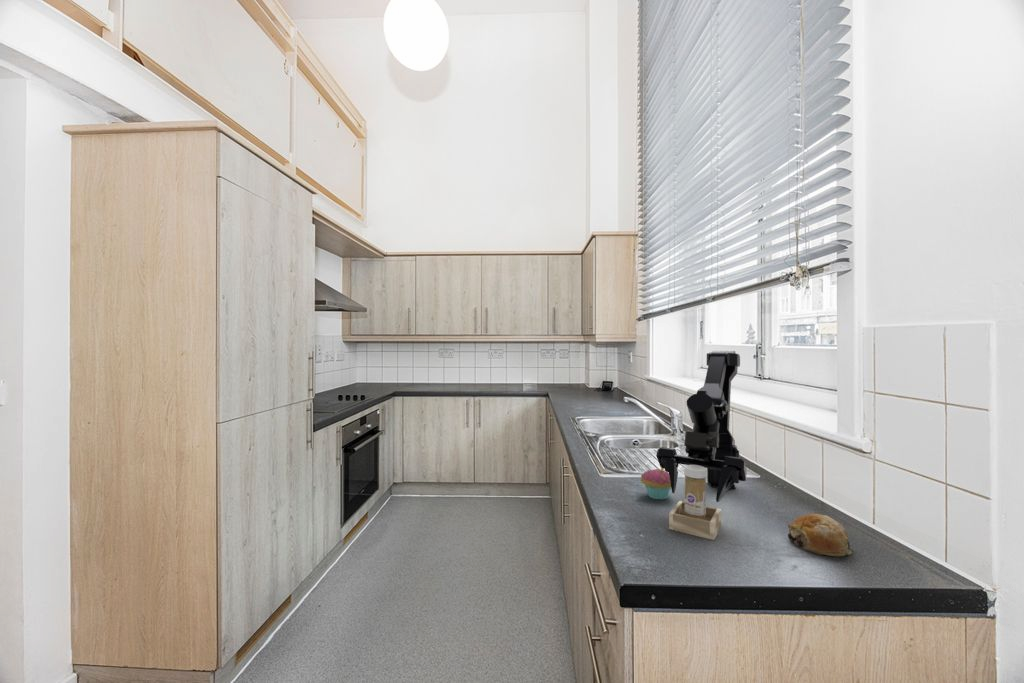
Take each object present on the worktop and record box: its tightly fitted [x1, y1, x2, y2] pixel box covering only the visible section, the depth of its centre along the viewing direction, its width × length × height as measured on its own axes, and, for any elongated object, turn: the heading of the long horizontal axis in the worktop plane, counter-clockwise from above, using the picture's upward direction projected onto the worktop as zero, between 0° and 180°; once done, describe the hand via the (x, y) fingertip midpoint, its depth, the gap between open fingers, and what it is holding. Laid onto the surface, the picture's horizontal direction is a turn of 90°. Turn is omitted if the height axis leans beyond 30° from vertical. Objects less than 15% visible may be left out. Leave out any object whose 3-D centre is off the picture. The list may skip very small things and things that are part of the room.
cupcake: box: [640, 467, 671, 500], centre depth 113 cm, size 9×8×12 cm
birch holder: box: [668, 500, 723, 541], centre depth 95 cm, size 9×9×4 cm
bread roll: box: [787, 513, 852, 557], centre depth 86 cm, size 10×10×8 cm
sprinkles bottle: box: [683, 465, 707, 520], centre depth 95 cm, size 5×5×14 cm
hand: (694, 496), depth 94 cm, fingers open, 9 cm apart
